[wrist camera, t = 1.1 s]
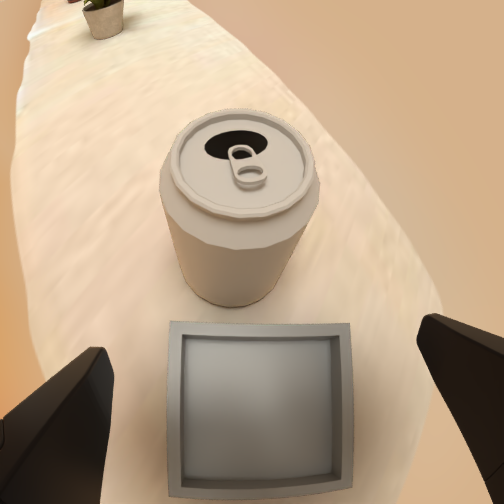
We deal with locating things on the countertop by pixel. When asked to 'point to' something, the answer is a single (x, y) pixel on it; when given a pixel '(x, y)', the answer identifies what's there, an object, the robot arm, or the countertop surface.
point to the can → (237, 202)
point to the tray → (259, 410)
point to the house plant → (104, 17)
